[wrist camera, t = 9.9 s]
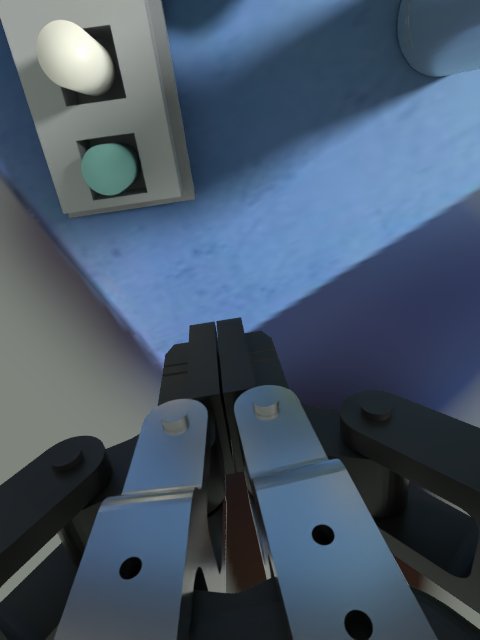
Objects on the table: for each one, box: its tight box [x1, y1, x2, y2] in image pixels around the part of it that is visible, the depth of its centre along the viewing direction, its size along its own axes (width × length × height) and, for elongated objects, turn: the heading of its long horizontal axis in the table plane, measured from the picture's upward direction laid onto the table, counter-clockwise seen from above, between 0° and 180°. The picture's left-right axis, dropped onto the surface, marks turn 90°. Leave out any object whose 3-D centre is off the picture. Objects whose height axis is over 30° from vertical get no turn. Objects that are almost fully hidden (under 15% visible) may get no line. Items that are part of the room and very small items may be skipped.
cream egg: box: [36, 20, 115, 96], centre depth 27 cm, size 4×4×6 cm
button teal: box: [81, 142, 141, 195], centre depth 33 cm, size 4×4×6 cm
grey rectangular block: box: [0, 0, 195, 218], centre depth 32 cm, size 12×22×7 cm, turn 7°
